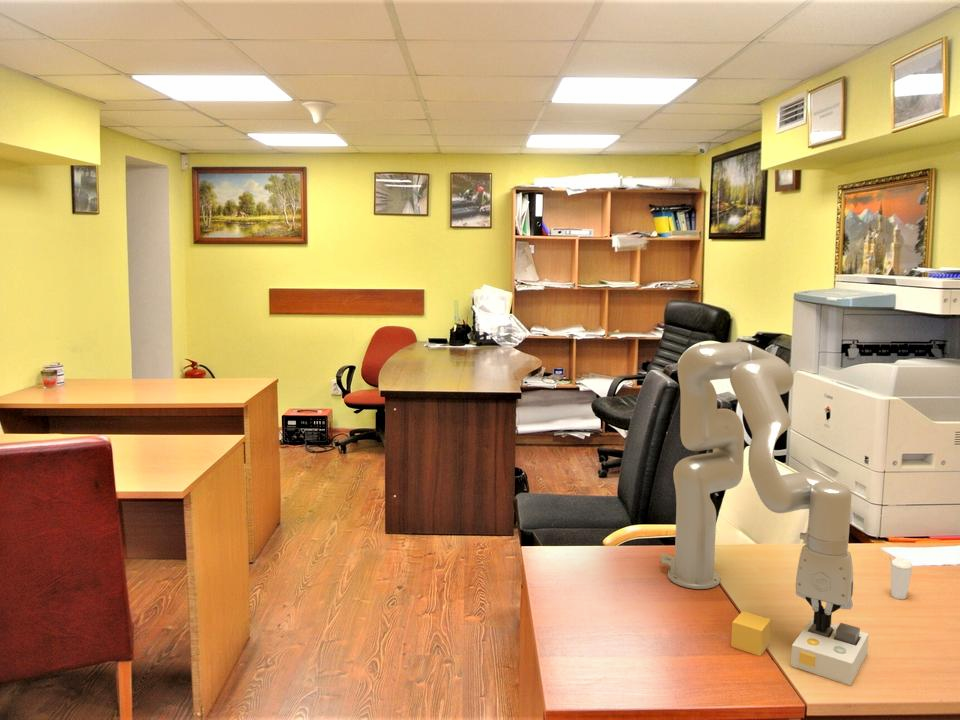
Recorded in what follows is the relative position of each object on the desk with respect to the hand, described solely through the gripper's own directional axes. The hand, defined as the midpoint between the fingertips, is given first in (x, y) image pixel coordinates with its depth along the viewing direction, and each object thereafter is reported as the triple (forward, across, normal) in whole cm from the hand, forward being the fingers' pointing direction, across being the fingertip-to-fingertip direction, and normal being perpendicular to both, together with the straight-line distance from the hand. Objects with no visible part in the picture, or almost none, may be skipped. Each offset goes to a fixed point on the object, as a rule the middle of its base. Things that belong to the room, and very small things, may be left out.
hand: (821, 628), depth 156 cm
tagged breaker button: (+4, 0, 0) cm, 4 cm away
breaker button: (+2, +5, 0) cm, 5 cm away
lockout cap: (+5, -12, -6) cm, 15 cm away
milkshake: (+5, +8, +37) cm, 38 cm away
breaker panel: (+5, +2, -2) cm, 6 cm away
